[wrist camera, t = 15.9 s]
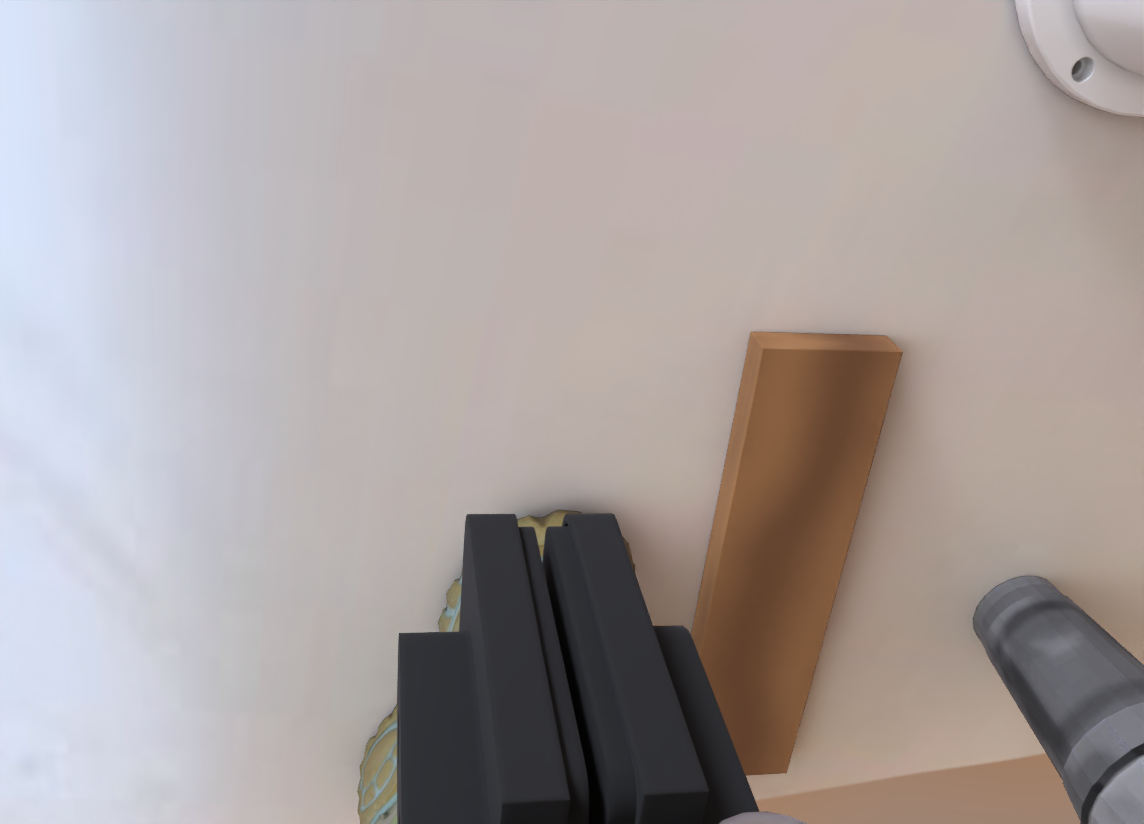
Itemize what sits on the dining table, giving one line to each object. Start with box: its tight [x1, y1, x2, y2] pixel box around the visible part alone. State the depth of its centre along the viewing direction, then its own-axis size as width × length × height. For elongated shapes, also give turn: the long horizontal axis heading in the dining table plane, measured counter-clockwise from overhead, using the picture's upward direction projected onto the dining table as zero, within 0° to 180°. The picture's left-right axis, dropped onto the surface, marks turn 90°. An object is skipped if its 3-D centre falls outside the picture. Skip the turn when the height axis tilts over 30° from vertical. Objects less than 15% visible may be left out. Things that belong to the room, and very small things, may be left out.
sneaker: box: [358, 510, 635, 824], centre depth 41 cm, size 11×19×15 cm, turn 136°
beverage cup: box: [973, 576, 1144, 824], centre depth 43 cm, size 7×7×20 cm
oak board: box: [691, 332, 902, 775], centre depth 47 cm, size 6×24×2 cm, turn 175°
